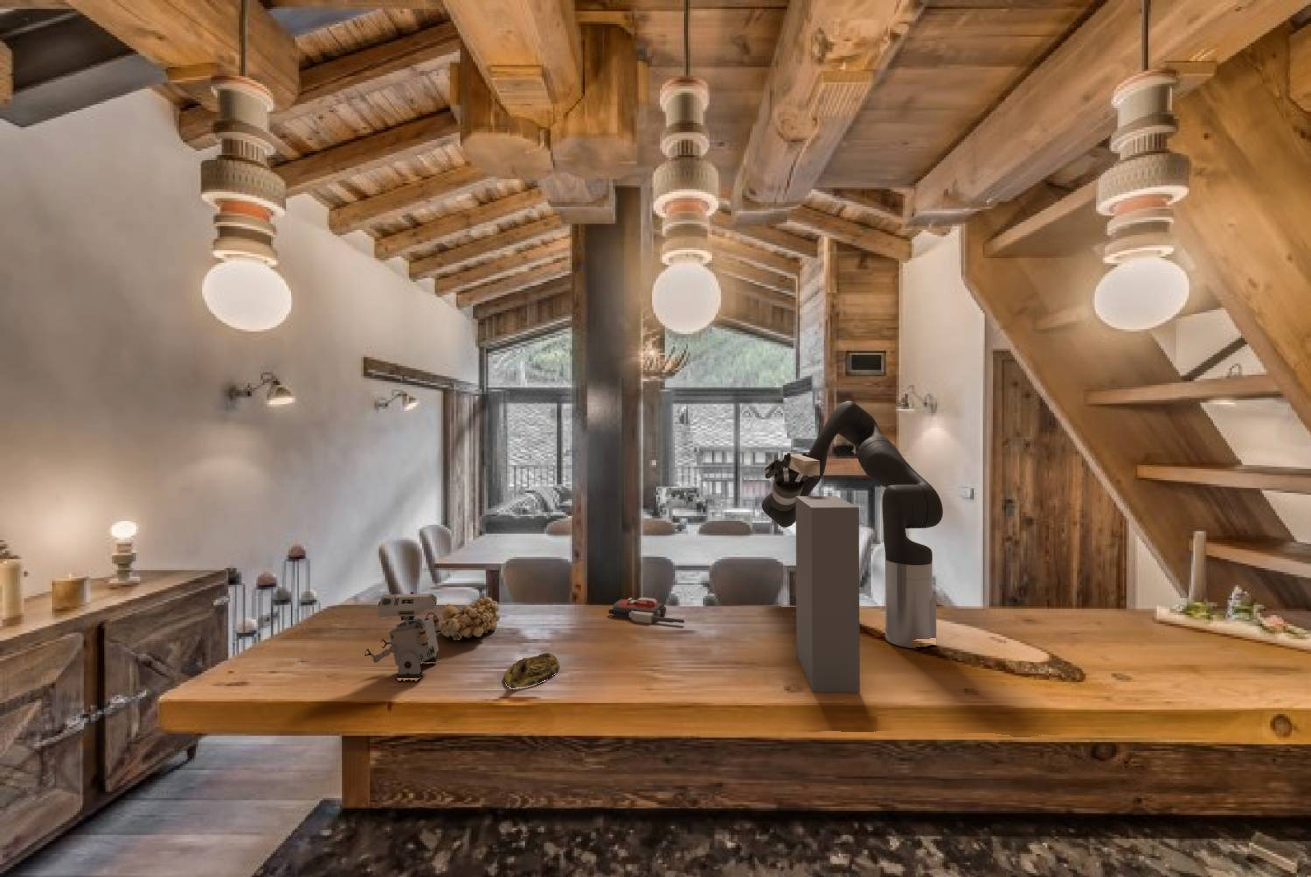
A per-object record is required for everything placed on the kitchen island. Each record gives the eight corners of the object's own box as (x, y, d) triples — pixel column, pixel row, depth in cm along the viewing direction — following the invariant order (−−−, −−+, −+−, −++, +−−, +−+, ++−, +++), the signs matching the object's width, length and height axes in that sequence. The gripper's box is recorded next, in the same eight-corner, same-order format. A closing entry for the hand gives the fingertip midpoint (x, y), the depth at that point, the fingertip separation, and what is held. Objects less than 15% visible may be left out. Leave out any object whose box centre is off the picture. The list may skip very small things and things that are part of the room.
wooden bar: (799, 466, 144) (799, 454, 144) (819, 475, 120) (819, 460, 120) (786, 466, 144) (786, 454, 144) (804, 475, 120) (804, 460, 120)
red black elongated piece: (604, 620, 142) (683, 629, 135) (603, 601, 142) (682, 610, 135) (619, 609, 151) (694, 617, 144) (618, 592, 150) (693, 599, 143)
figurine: (387, 663, 117) (386, 587, 116) (445, 662, 117) (444, 587, 116) (364, 683, 108) (362, 601, 107) (427, 682, 107) (425, 601, 107)
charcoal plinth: (837, 656, 117) (836, 496, 117) (859, 692, 101) (859, 507, 101) (796, 655, 118) (795, 496, 117) (812, 691, 102) (811, 507, 101)
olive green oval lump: (526, 663, 119) (491, 695, 105) (524, 639, 120) (488, 668, 105) (570, 661, 117) (539, 693, 103) (567, 637, 118) (536, 666, 103)
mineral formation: (504, 625, 138) (492, 644, 123) (446, 637, 137) (427, 658, 122) (498, 591, 138) (486, 606, 124) (440, 603, 137) (421, 619, 122)
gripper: (759, 473, 156) (765, 442, 140) (813, 472, 155) (825, 441, 139) (761, 499, 152) (768, 470, 137) (816, 499, 151) (829, 470, 136)
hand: (797, 456), depth 138 cm, fingers closed on wooden bar, 3 cm apart
